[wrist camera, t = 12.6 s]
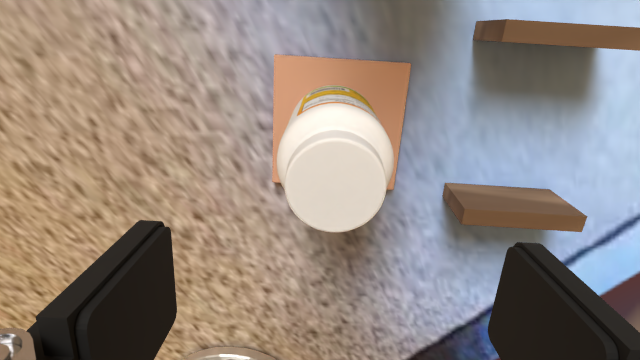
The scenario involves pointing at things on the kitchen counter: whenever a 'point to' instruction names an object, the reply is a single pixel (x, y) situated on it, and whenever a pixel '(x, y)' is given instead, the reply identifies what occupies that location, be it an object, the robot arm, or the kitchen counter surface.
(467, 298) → the kitchen counter surface
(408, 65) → the terracotta tile
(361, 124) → the supplement bottle
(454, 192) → the slot rack
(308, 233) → the kitchen counter surface
